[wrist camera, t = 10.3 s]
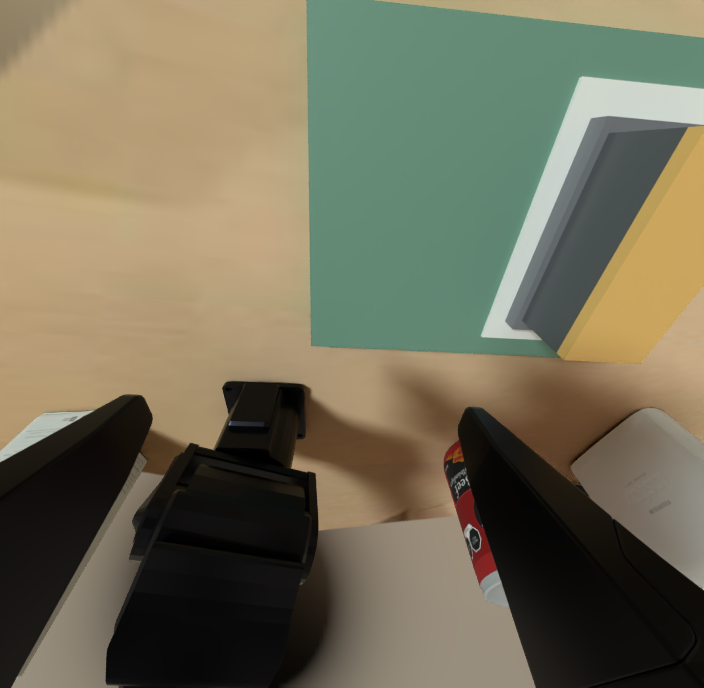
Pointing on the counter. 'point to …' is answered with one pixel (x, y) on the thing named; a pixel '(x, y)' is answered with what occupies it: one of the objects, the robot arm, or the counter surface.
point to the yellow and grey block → (627, 250)
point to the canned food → (473, 527)
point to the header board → (462, 162)
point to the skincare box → (57, 421)
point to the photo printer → (652, 486)
